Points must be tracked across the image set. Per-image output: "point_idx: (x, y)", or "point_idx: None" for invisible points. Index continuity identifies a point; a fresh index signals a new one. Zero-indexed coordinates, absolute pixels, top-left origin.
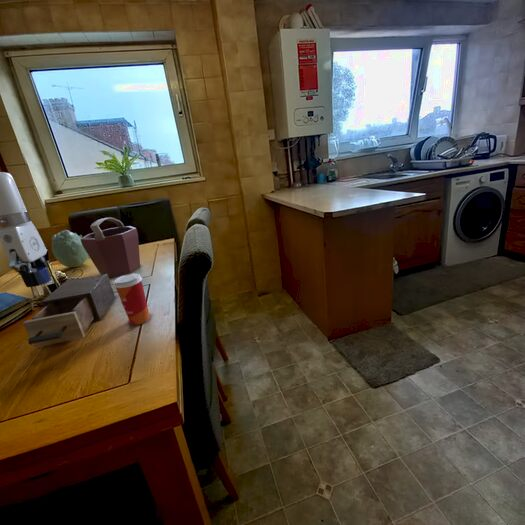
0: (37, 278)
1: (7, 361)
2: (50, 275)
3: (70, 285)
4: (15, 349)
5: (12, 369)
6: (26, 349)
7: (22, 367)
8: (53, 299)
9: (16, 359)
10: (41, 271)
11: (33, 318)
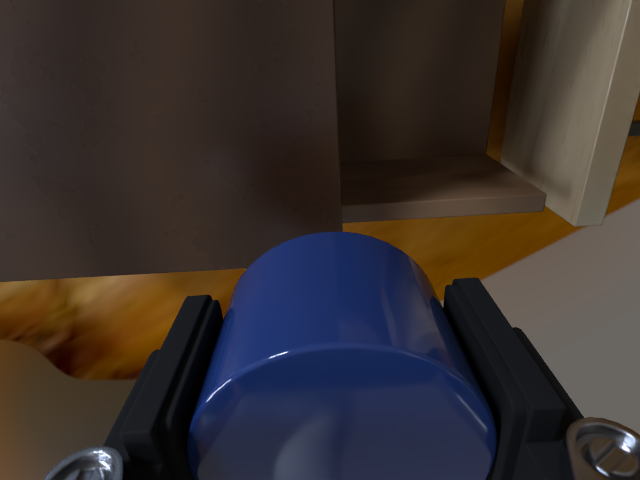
0: (483, 322)
1: (535, 244)
2: (193, 298)
3: (59, 190)
4: (450, 265)
5: (616, 189)
6: (475, 218)
7: (627, 153)
8: (339, 187)
9: (540, 216)
10: (423, 344)
11: (543, 200)
